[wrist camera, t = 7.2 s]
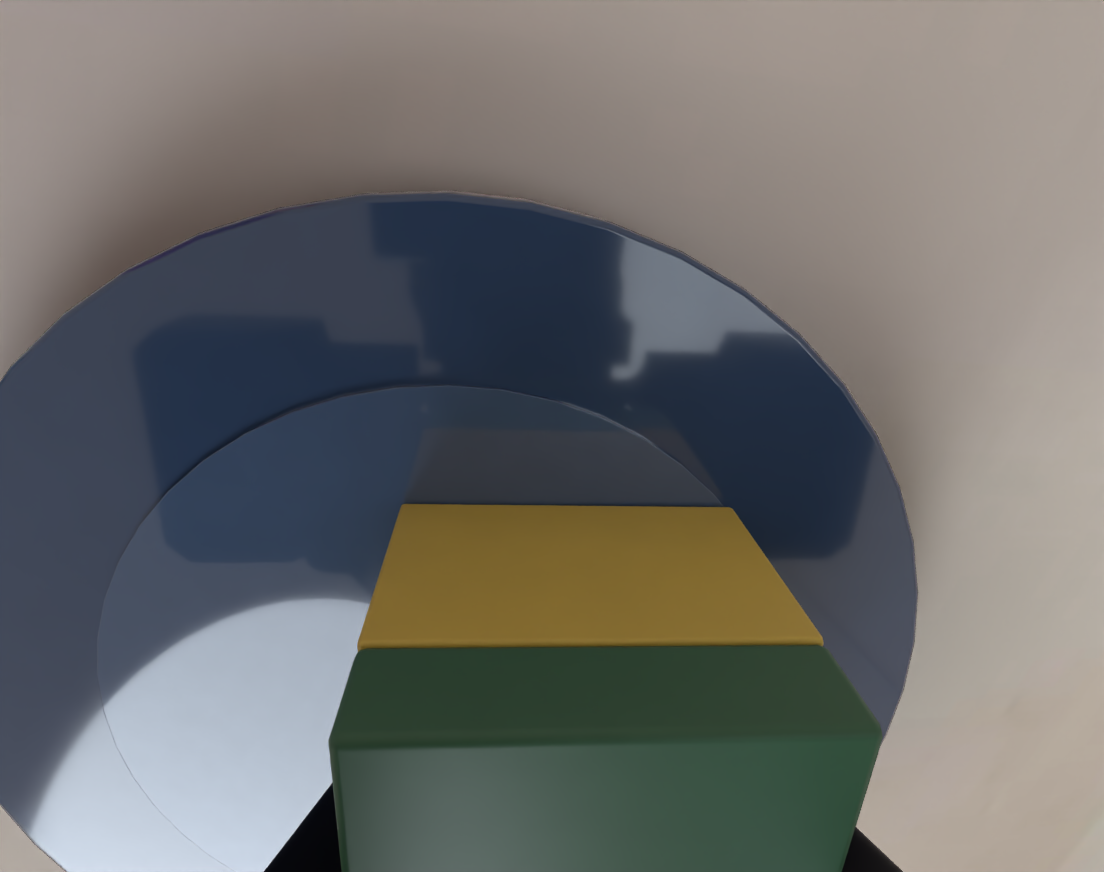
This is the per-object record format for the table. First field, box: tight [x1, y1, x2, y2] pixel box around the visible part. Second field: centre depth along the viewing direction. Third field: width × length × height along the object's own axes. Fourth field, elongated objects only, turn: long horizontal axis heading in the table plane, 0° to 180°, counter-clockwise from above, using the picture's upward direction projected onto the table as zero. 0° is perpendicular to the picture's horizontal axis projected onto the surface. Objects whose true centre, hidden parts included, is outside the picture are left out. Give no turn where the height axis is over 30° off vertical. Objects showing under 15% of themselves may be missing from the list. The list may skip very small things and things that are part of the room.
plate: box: [0, 191, 918, 872], centre depth 9 cm, size 13×13×1 cm
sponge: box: [328, 504, 883, 872], centre depth 7 cm, size 6×4×4 cm, turn 177°
